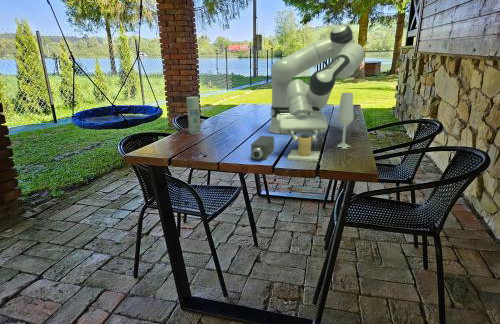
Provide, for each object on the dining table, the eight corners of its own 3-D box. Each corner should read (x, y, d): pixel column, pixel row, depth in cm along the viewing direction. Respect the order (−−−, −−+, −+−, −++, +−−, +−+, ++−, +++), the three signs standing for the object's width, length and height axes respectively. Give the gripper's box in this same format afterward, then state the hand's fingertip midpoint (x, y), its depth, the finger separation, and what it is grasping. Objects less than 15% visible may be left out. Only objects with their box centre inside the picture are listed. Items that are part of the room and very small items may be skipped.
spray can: (189, 134, 171) (186, 98, 165) (188, 132, 177) (186, 96, 171) (201, 133, 172) (198, 97, 166) (200, 131, 178) (198, 96, 172)
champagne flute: (350, 148, 137) (355, 94, 130) (335, 147, 139) (338, 93, 132) (350, 145, 143) (355, 92, 136) (335, 144, 145) (339, 92, 138)
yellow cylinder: (300, 152, 130) (300, 133, 127) (311, 153, 127) (312, 134, 125) (296, 155, 125) (297, 136, 123) (308, 156, 123) (309, 137, 121)
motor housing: (262, 147, 142) (262, 134, 140) (275, 147, 141) (275, 135, 139) (249, 161, 122) (249, 146, 120) (263, 162, 120) (263, 147, 119)
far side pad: (291, 151, 134) (291, 149, 133) (320, 153, 131) (320, 151, 130) (287, 159, 123) (287, 157, 123) (317, 161, 120) (318, 159, 119)
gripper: (276, 108, 127) (280, 137, 120) (325, 107, 128) (331, 135, 122) (275, 118, 132) (278, 145, 126) (321, 116, 134) (327, 143, 128)
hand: (305, 140), depth 124 cm, fingers open, 6 cm apart
